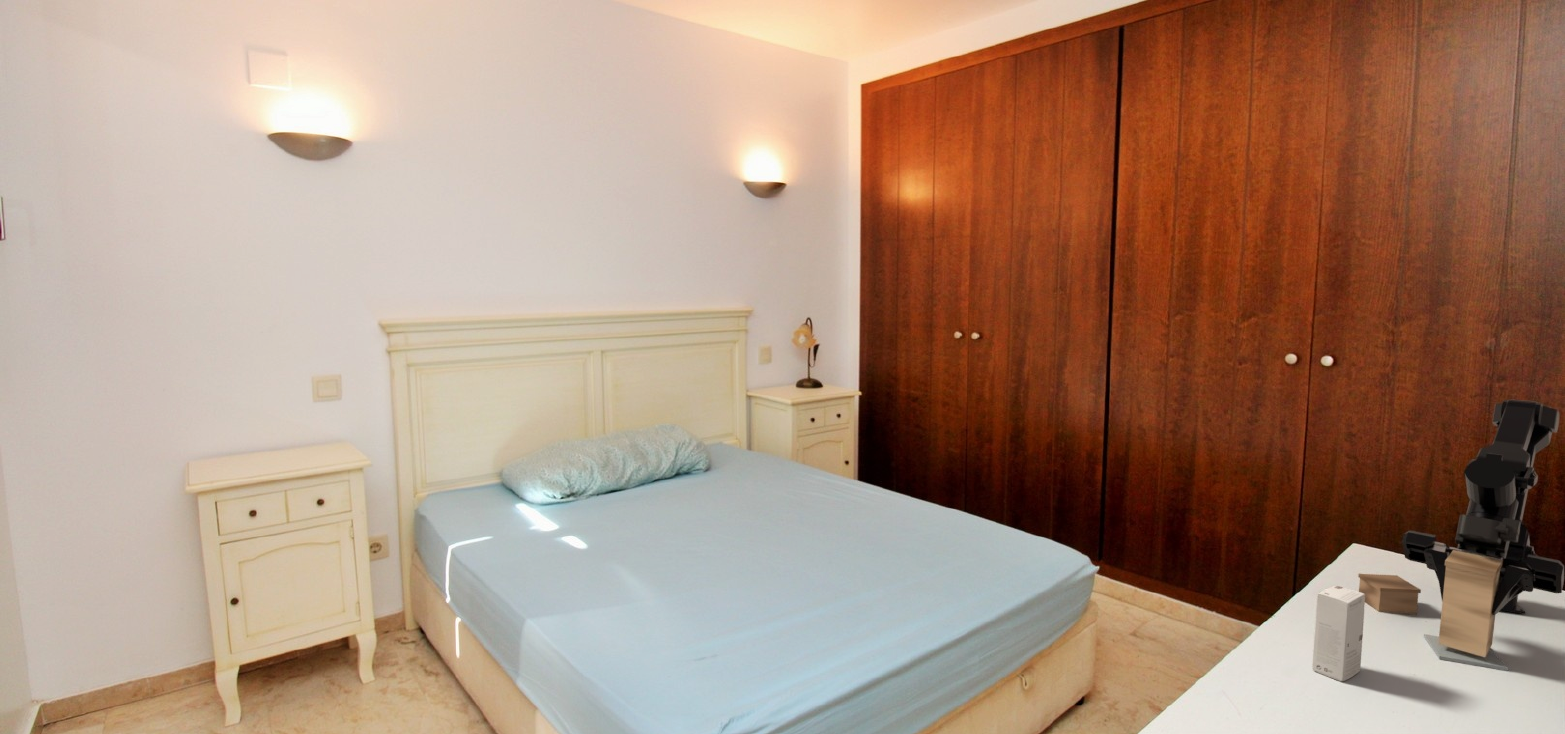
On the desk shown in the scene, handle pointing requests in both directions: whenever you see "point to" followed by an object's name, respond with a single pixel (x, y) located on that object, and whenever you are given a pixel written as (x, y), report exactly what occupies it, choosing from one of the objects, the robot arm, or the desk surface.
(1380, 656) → the desk surface
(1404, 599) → the walnut trinket box
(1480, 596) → the oak tea canister
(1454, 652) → the coaster
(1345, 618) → the skincare box
